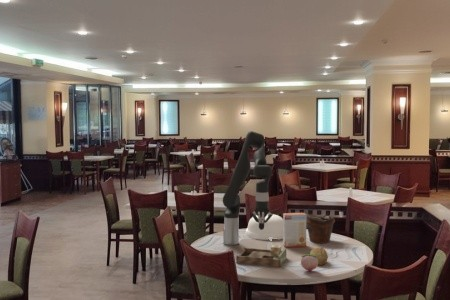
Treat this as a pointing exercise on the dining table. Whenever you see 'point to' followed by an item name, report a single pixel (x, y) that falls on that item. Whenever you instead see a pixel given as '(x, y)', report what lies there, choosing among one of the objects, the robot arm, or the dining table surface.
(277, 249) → the maple block
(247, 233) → the dome cover
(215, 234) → the dining table surface
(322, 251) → the bread roll
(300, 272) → the dining table surface
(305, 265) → the decorative fruit
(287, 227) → the cracker box
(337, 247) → the dining table surface
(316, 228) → the brown plant pot
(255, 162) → the robot arm
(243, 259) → the wooden divided tray
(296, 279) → the dining table surface
